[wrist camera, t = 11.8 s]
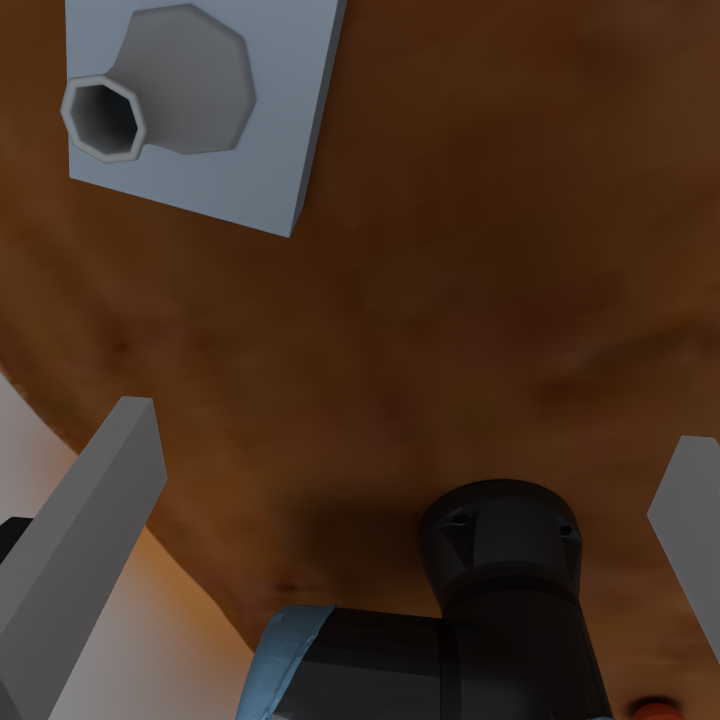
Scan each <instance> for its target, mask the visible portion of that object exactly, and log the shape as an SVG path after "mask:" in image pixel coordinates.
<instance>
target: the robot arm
mask: <svg viewBox="0 0 720 720" xmlns="http://www.w3.org/2000/svg"><path fill="white" fill-rule="evenodd" d="M166 481H167V473H166V468H165V463H164V458H163V452H162V447H161V442H160V437H159V431H158V426H157V421H156V416H155V410H154V405H153V400H152V398H141V397H127V396H122V397H121V399H120V400H119V401H118V403H117V404H116V405H115V407H114V408H113V410H112V411H111V412H110V414H109V415H108V417H107V418H106V419H105V421H104V422H103V423H102V425H101V426H100V428H99V429H98V430H97V432H96V433H95V435H94V436H93V437H92V439H91V440H90V441H89V443H88V444H87V446H86V447H85V448H84V450H83V451H82V453H81V454H80V455H79V457H78V458H77V460H76V461H75V462H74V464H73V465H72V466H71V468H70V469H69V471H68V472H67V474H66V475H65V476H64V477H63V479H62V480H61V482H60V483H59V485H58V486H57V487H56V489H55V490H54V491H53V493H52V495H51V496H50V497H49V498H48V500H47V501H46V503H45V504H44V505H43V507H42V508H41V510H40V511H39V512H38V514H37V515H36V516H35V518H22V517H11V518H9V519H8V520H7V521H6V522H4V523H3V524H1V526H0V720H48V718H49V716H50V714H51V712H52V710H53V708H54V706H55V704H56V702H57V700H58V698H59V696H60V694H61V692H62V690H63V688H64V686H65V684H66V682H67V680H68V678H69V676H70V674H71V672H72V670H73V668H74V666H75V664H76V662H77V660H78V658H79V656H80V654H81V652H82V650H83V648H84V646H85V644H86V642H87V640H88V638H89V636H90V634H91V632H92V629H93V628H94V626H95V624H96V622H97V620H98V618H99V616H100V614H101V612H102V609H103V608H104V606H105V604H106V602H107V600H108V598H109V596H110V594H111V592H112V590H113V588H114V585H115V584H116V582H117V580H118V577H119V575H120V573H121V571H122V569H123V567H124V565H125V563H126V561H127V559H128V557H129V555H130V553H131V551H132V549H133V547H134V545H135V543H136V541H137V539H138V537H139V535H140V533H141V531H142V529H143V527H144V525H145V523H146V521H147V519H148V517H149V515H150V513H151V511H152V509H153V507H154V505H155V503H156V501H157V499H158V497H159V495H160V493H161V491H162V489H163V487H164V485H165V483H166ZM647 516H648V519H649V521H650V523H651V525H652V527H653V529H654V531H655V533H656V535H657V537H658V539H659V541H660V543H661V545H662V547H663V549H664V551H665V553H666V555H667V557H668V560H669V562H670V564H671V566H672V568H673V570H674V572H675V574H676V576H677V578H678V580H679V582H680V584H681V586H682V588H683V590H684V592H685V594H686V596H687V598H688V600H689V603H690V605H691V607H692V609H693V611H694V613H695V615H696V617H697V619H698V621H699V623H700V625H701V627H702V629H703V631H704V633H705V635H706V637H707V639H708V641H709V644H710V646H711V648H712V650H713V652H714V654H715V656H716V658H717V660H718V662H719V664H720V446H719V445H718V443H717V442H716V440H715V439H714V438H710V437H696V436H681V438H680V440H679V443H678V445H677V447H676V449H675V452H674V454H673V456H672V458H671V461H670V463H669V465H668V467H667V470H666V472H665V474H664V476H663V479H662V481H661V483H660V485H659V488H658V490H657V492H656V494H655V497H654V499H653V501H652V504H651V506H650V508H649V510H648V513H647ZM419 551H420V558H421V562H422V566H423V568H424V570H425V573H426V575H427V578H428V580H429V582H430V585H431V587H432V590H433V592H434V594H435V597H436V599H437V602H438V604H439V606H440V609H441V612H442V619H440V618H432V617H423V616H412V615H401V614H392V613H384V612H375V611H366V610H357V609H349V608H340V607H338V604H330V605H329V606H317V605H296V604H295V605H288V606H285V607H283V608H281V609H280V610H279V611H277V612H276V613H275V614H274V615H273V617H272V618H271V619H270V621H269V622H268V624H267V626H266V628H265V630H264V632H263V634H262V637H261V639H260V641H259V644H258V647H257V649H256V652H255V654H254V658H253V660H252V663H251V666H250V669H249V672H248V675H247V679H246V682H245V685H244V688H243V691H242V695H241V699H240V702H239V706H238V710H237V714H236V717H235V720H614V717H613V714H612V710H611V707H610V704H609V700H608V697H607V694H606V690H605V687H604V684H603V680H602V677H601V673H600V670H599V667H598V663H597V660H596V657H595V653H594V650H593V647H592V643H591V640H590V636H589V633H588V630H587V626H586V623H585V620H584V617H583V613H582V610H581V606H580V602H579V589H580V576H581V562H582V539H581V535H580V532H579V528H578V525H577V522H576V519H575V516H574V514H573V512H572V510H571V509H570V508H569V506H568V505H567V504H566V503H565V502H564V501H563V500H562V499H561V498H559V497H558V496H557V495H555V494H554V493H552V492H550V491H548V490H546V489H544V488H541V487H539V486H536V485H532V484H529V483H524V482H517V481H487V482H481V483H476V484H472V485H468V486H465V487H462V488H460V489H457V490H455V491H453V492H451V493H449V494H447V495H446V496H444V497H443V498H441V499H440V500H438V501H437V502H436V503H435V504H434V505H433V506H432V507H431V508H430V509H429V510H428V511H427V513H426V514H425V516H424V518H423V520H422V522H421V525H420V529H419Z"/></svg>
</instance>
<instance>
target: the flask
mask: <svg viewBox="0 0 720 720" xmlns="http://www.w3.org/2000/svg"><path fill="white" fill-rule="evenodd" d="M255 102H256V99H255V94H254V89H253V83H252V78H251V73H250V68H249V63H248V58H247V53H246V48H245V43H244V38H243V37H241V36H239V35H238V34H236V33H235V32H233V31H232V30H230V29H229V28H227V27H226V26H224V25H222V24H221V23H219V22H218V21H216V20H215V19H213V18H212V17H210V16H208V15H207V14H205V13H204V12H202V11H201V10H199V9H198V8H196V7H195V6H193V5H191V4H190V3H189V4H181V5H174V6H167V7H160V8H152V9H145V10H138V11H133V14H132V16H131V19H130V22H129V25H128V29H127V32H126V35H125V38H124V41H123V44H122V46H121V49H120V51H119V53H118V56H117V58H116V61H115V63H114V65H113V67H111V68H110V69H109V70H108V71H107V72H106V73H105V74H97V75H89V76H81V77H73V78H69V79H68V82H67V86H66V90H65V94H64V98H63V102H62V106H61V110H60V112H61V115H62V118H63V120H64V123H65V126H66V128H67V131H68V134H69V136H70V139H71V142H72V144H73V146H74V147H75V148H77V149H79V150H81V151H83V152H84V153H86V154H88V155H90V156H92V157H93V158H95V159H97V160H99V161H101V162H102V163H104V164H109V163H118V162H128V161H136V160H138V159H139V157H140V154H141V151H142V148H143V146H144V145H146V144H151V145H155V146H159V147H163V148H166V149H168V150H171V151H174V152H176V153H179V154H183V155H189V154H198V153H208V152H217V151H227V150H235V147H236V145H237V143H238V140H239V138H240V136H241V134H242V131H243V129H244V127H245V125H246V122H247V120H248V118H249V115H250V113H251V111H252V109H253V106H254V104H255Z"/></svg>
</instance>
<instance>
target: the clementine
mask: <svg viewBox="0 0 720 720" xmlns="http://www.w3.org/2000/svg"><path fill="white" fill-rule="evenodd" d="M633 720H686V719H685V718H684V716H683V715H682V714H681V713H680V712H678V711H677V710H676V709H674V708H673V707H671V706H668V705H666V704H663V703H649V704H646V705H643V706H642V707H641V708H639V709H638V710H637V712H636V713H635V715H634V717H633Z"/></svg>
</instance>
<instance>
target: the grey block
mask: <svg viewBox="0 0 720 720" xmlns="http://www.w3.org/2000/svg"><path fill="white" fill-rule="evenodd" d="M189 3H190V4H191V5H193V6H195V7H196V8H198V9H199V10H201V11H202V12H204V13H205V14H207V15H208V16H210V17H212V18H213V19H215V20H216V21H218V22H219V23H221V24H222V25H224V26H226V27H227V28H229V29H230V30H232V31H233V32H235V33H236V34H238V35H239V36H241V37H243V38H244V43H245V48H246V53H247V58H248V63H249V68H250V73H251V78H252V83H253V89H254V94H255V99H256V102H255V104H254V106H253V109H252V111H251V113H250V115H249V118H248V120H247V122H246V125H245V127H244V129H243V131H242V134H241V136H240V138H239V140H238V143H237V145H236V147H235V150H227V151H217V152H208V153H198V154H189V155H183V154H179V153H176V152H174V151H171V150H168V149H166V148H163V147H159V146H155V145H151V144H146V145H144V146H143V148H142V151H141V154H140V157H139V159H138V160H136V161H128V162H118V163H109V164H104V163H102V162H101V161H99V160H97V159H95V158H93V157H92V156H90V155H88V154H86V153H84V152H83V151H81V150H79V149H77V148H75V147H74V146H73V144H72V142H71V139H70V136H69V168H70V178H74V179H78V180H81V181H85V182H89V183H92V184H96V185H99V186H103V187H107V188H110V189H114V190H118V191H121V192H125V193H128V194H132V195H136V196H139V197H143V198H146V199H150V200H154V201H157V202H161V203H165V204H168V205H172V206H175V207H179V208H183V209H186V210H190V211H194V212H197V213H201V214H204V215H208V216H212V217H215V218H219V219H223V220H226V221H230V222H233V223H237V224H241V225H244V226H248V227H251V228H255V229H259V230H262V231H266V232H270V233H273V234H277V235H280V236H284V237H288V238H289V237H290V235H291V233H292V230H293V228H294V226H295V224H296V222H297V220H298V217H299V215H300V213H301V211H302V209H303V205H304V200H305V196H306V191H307V186H308V181H309V177H310V172H311V167H312V163H313V158H314V153H315V149H316V144H317V139H318V135H319V130H320V125H321V121H322V116H323V111H324V107H325V102H326V97H327V93H328V88H329V83H330V79H331V74H332V69H333V65H334V60H335V55H336V50H337V46H338V41H339V36H340V32H341V27H342V22H343V18H344V13H345V8H346V4H347V0H65V6H66V47H67V82H68V79H69V78H73V77H81V76H89V75H97V74H105V73H106V72H107V71H108V70H109V69H110V68H111V67H113V65H114V63H115V61H116V58H117V56H118V53H119V51H120V49H121V46H122V44H123V41H124V38H125V35H126V32H127V29H128V25H129V22H130V19H131V16H132V14H133V11H138V10H145V9H152V8H160V7H167V6H174V5H181V4H189Z"/></svg>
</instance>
